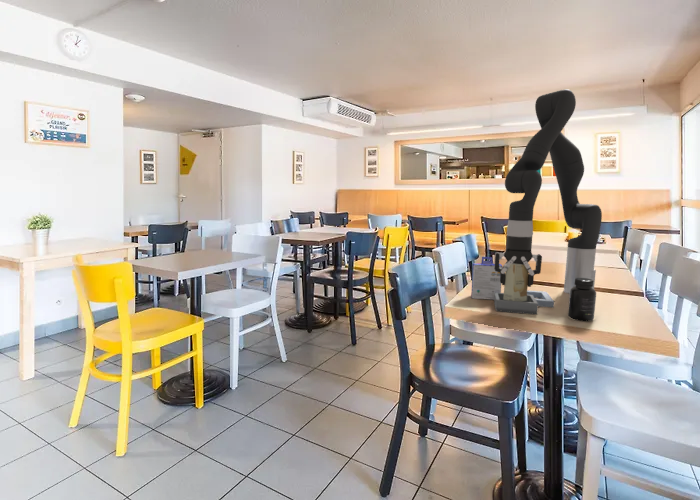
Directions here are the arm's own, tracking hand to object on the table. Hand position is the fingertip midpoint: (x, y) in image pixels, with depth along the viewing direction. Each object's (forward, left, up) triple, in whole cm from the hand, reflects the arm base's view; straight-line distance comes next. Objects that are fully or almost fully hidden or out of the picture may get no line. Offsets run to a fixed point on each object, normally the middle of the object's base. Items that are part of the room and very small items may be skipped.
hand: (515, 285), depth 132 cm
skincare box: (0, 0, -5) cm, 5 cm away
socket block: (-6, -12, -7) cm, 15 cm away
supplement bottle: (-18, +6, -8) cm, 20 cm away
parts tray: (0, 0, -7) cm, 7 cm away
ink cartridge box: (+9, -11, -8) cm, 16 cm away
